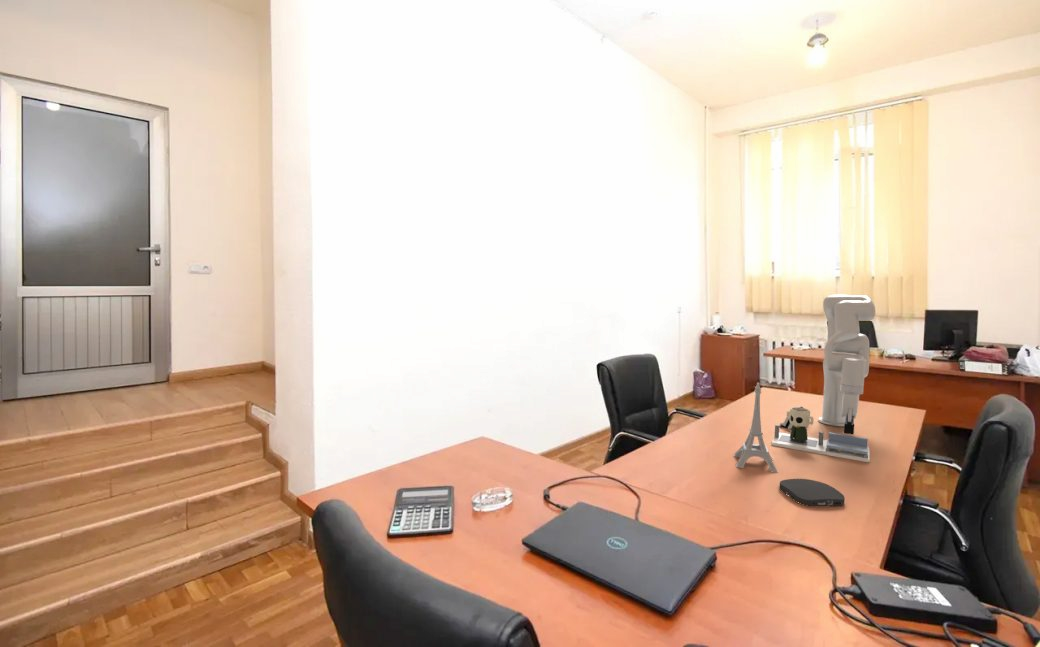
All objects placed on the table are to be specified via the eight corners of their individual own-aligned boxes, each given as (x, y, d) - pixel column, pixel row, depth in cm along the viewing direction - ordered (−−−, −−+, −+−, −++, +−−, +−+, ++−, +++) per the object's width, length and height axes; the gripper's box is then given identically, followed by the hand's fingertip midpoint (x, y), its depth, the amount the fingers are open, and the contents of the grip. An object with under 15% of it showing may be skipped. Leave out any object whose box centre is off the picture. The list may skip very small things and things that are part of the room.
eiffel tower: (736, 467, 170) (739, 385, 167) (733, 455, 182) (736, 378, 180) (778, 472, 165) (782, 388, 163) (772, 459, 178) (776, 380, 175)
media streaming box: (817, 486, 155) (818, 477, 155) (850, 507, 140) (851, 497, 140) (774, 487, 154) (774, 478, 154) (802, 508, 140) (802, 498, 140)
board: (777, 434, 206) (777, 420, 205) (868, 449, 187) (869, 434, 186) (771, 445, 193) (772, 430, 192) (869, 462, 174) (870, 446, 174)
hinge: (792, 419, 228) (800, 401, 225) (802, 424, 225) (811, 406, 222) (778, 426, 217) (787, 407, 214) (788, 432, 214) (798, 413, 211)
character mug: (780, 438, 198) (781, 407, 196) (790, 435, 201) (792, 405, 200) (806, 445, 188) (808, 413, 187) (817, 443, 191) (818, 411, 190)
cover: (828, 441, 188) (828, 432, 188) (866, 448, 181) (867, 438, 181) (827, 447, 182) (827, 437, 182) (867, 454, 175) (867, 443, 174)
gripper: (841, 383, 197) (838, 426, 199) (839, 391, 185) (836, 436, 187) (863, 386, 192) (860, 429, 194) (863, 394, 180) (860, 440, 182)
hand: (848, 433), depth 191 cm, fingers closed
